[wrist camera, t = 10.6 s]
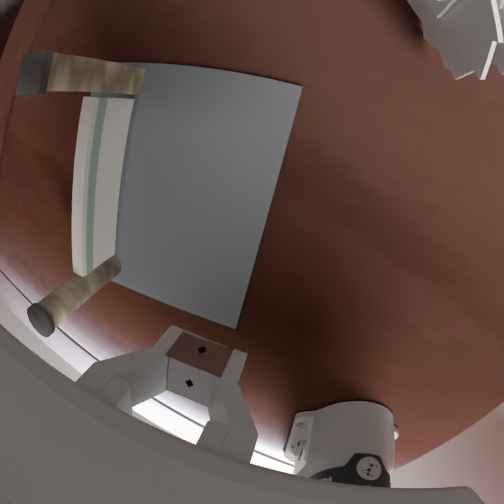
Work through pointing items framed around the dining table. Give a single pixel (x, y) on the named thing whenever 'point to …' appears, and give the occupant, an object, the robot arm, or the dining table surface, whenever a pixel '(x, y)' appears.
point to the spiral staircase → (464, 33)
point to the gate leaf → (98, 179)
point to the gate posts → (89, 80)
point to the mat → (199, 184)
